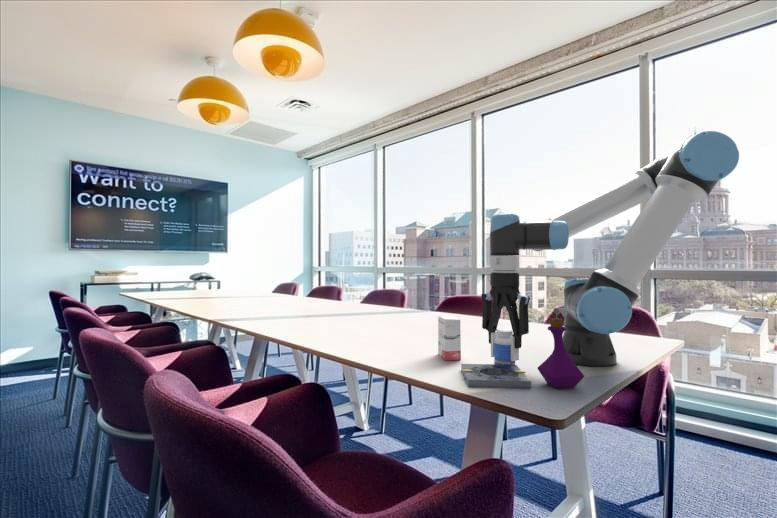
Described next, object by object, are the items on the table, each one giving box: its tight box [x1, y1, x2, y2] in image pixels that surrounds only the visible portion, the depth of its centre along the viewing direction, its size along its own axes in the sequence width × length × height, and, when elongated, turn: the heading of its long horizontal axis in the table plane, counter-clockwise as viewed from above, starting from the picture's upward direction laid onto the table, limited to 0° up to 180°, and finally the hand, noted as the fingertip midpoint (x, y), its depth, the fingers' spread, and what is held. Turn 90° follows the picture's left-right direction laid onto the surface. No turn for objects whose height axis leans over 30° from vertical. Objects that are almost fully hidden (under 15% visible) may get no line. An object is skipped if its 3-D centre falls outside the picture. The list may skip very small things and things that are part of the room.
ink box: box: [437, 315, 462, 361], centre depth 120 cm, size 9×5×12 cm, turn 7°
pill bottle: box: [493, 328, 516, 365], centre depth 110 cm, size 6×5×10 cm
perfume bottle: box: [537, 307, 585, 390], centre depth 93 cm, size 8×8×18 cm
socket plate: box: [461, 363, 532, 389], centre depth 99 cm, size 15×14×2 cm
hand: (504, 357), depth 110 cm, fingers closed on pill bottle, 5 cm apart
